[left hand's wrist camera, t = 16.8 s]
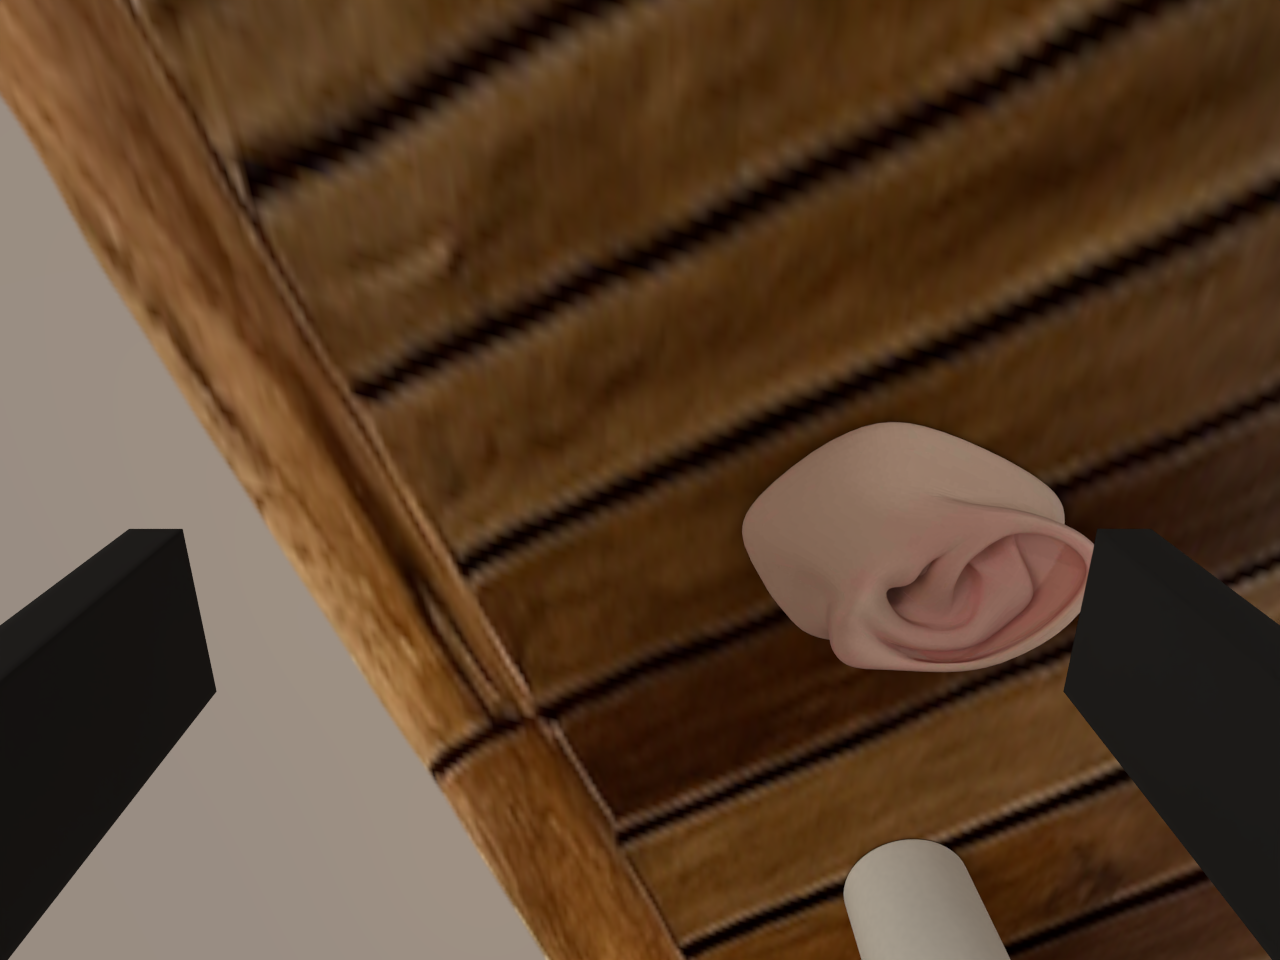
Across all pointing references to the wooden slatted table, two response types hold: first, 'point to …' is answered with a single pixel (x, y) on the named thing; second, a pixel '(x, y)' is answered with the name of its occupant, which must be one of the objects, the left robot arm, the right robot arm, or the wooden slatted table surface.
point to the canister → (918, 906)
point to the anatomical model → (917, 551)
